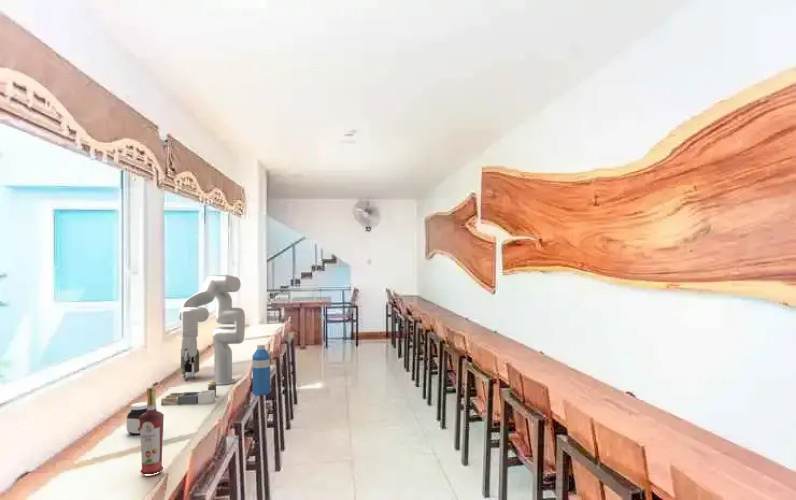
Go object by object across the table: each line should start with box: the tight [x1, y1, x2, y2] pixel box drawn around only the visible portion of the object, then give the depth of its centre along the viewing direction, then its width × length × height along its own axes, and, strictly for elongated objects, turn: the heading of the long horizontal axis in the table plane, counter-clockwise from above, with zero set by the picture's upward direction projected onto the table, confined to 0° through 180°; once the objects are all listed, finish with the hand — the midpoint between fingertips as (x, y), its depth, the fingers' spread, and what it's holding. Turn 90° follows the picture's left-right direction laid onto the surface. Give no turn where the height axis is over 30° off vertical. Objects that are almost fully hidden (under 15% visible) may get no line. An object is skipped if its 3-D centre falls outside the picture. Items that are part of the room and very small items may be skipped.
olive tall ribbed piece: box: [180, 348, 200, 382], centre depth 333 cm, size 14×9×25 cm, turn 25°
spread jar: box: [125, 401, 148, 437], centre depth 232 cm, size 12×11×12 cm
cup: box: [197, 389, 216, 405], centre depth 278 cm, size 6×6×5 cm
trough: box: [160, 392, 183, 406], centre depth 280 cm, size 12×8×3 cm, turn 2°
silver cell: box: [185, 362, 195, 379], centre depth 279 cm, size 4×4×7 cm
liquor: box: [139, 386, 165, 475], centre depth 186 cm, size 7×7×28 cm
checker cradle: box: [178, 391, 200, 406], centre depth 279 cm, size 9×9×4 cm
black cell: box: [207, 381, 217, 398], centre depth 289 cm, size 4×4×7 cm
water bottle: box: [252, 344, 271, 396], centre depth 295 cm, size 9×9×25 cm
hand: (190, 370), depth 279 cm, fingers closed on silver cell, 4 cm apart
